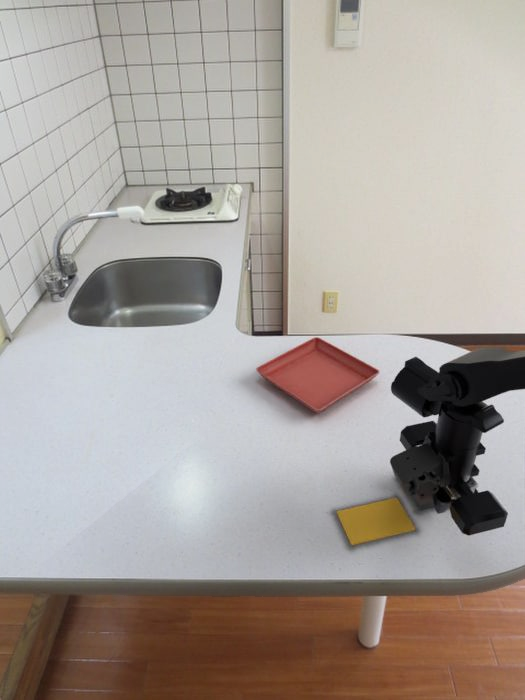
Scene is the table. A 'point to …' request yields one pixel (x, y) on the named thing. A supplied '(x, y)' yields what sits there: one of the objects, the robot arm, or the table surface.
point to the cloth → (375, 521)
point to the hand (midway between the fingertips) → (439, 511)
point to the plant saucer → (317, 374)
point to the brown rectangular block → (423, 502)
